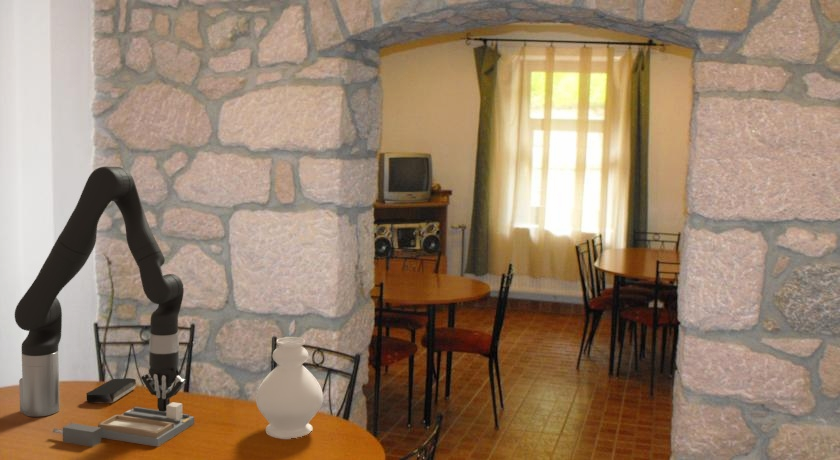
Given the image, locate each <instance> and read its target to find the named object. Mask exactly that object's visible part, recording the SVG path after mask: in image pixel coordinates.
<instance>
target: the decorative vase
mask: <svg viewBox="0 0 840 460" xmlns="http://www.w3.org/2000/svg"><path fill="white" fill-rule="evenodd" d="M305 344H306V340H305V339H304V338H303V337H299V336H298V337H297V336H286V337H280V338H278V339H276V345H278V347H276V348H275V350H273V352H272V359H273V361H274V362H275V363H276V364H277V366H275V367H274V368H273V370H271V371H270V372H269V373H268V374H267V375H266V377H264V379H263V381H261V384H260V385H259V387H258V389H257V392H256V394H255V401H256V402H255V403H256V406H257V409H258V411H259V412H260V413H261V415H262V416H263V417H264V418H265V420H266V421H267V422H268V423H269V424H268V425H266V427H265V433H266V434H267V435H268V436H269V437H271V438H275V439H280V440H292V439H291V438H296V439H298V438H297V437H301V438H303V437H302V436H304V435H307V434H309V433H310V432H311V431H312V432H313V425H311V424H310V422H311V420H312V419H313V418H314V417H315V416H316V415H317V413H318V412H319V410H320V409H321V407H322V405H323V402H324V393H323V389H322V387H321V385H320V383H319V382H318V380H317V378H316V377H315V376H314V374H313V373H312V372H311V371H310V370H308V369H307V368H306V367H305V365H303V364H305V362H306V361H307V360H308V358H309V352H308V350H307V349H306V348H305V347H304V345H305ZM312 432H311V433H312ZM311 433H310V434H311ZM310 434H309V435H310ZM307 436H308V435H307Z"/></svg>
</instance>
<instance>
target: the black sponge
mask: <svg viewBox="0 0 840 460" xmlns="http://www.w3.org/2000/svg"><path fill="white" fill-rule="evenodd" d="M136 381H137V380H136V379H135V378H131V377H130V378H129V377H128V378H112V379H109V381H106V382H105V383H102V384H101V385H99V386H98V387H95V388H94V389H92V390H90V391H88V392H86V401H87V403H89V404H112V403H114V402H116V401H118V400H119V399H121V398H122V397H124V396H125V395H127V394H128V393H131V392H132V391H133V390H135V388H136V386H137V382H136Z"/></svg>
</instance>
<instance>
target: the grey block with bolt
mask: <svg viewBox="0 0 840 460" xmlns="http://www.w3.org/2000/svg"><path fill="white" fill-rule="evenodd" d="M52 433H55V434H61V435H62V442H63V443H67V444H68V443H69V444H73V445H80V446H86V447H91V448H92V447H95V446H97V445H99V444H101V443H102V438H101V428H100V427H98V426H92V425H86V424H81V423H80V424H79V423H73V422H71V423H68V424H67V425H64V426H62V429H60V428H59V429H58V428H53V429H52Z"/></svg>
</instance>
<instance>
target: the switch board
mask: <svg viewBox="0 0 840 460" xmlns="http://www.w3.org/2000/svg"><path fill="white" fill-rule="evenodd" d="M193 425H195V416H192V415H190V414H189V413H182V418H181V419H179V420H177V419H170V418H166V411H165V412H161V411H159V409H153V408H146V407H141V406H134V407H133V408H131V409H128V410H126V411H124V412H123V413H122V414H114V415H112V416H110V417H109V418H107V419H105V420H103V421H101V422H99V423H97V427H100V428H101V439H103V438H104V439H108V440H114V441H119V442H120V441H121V442H128V443H133V444H140V445H145V446H151V447H160V446H162V445H164V443H167V442H168V441H169V440H171V439H173V438H174V437H176V436H177V435H179V434H180V433H182V432H184V431H185V430H186V429H188V428H190V427H192V426H193Z"/></svg>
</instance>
